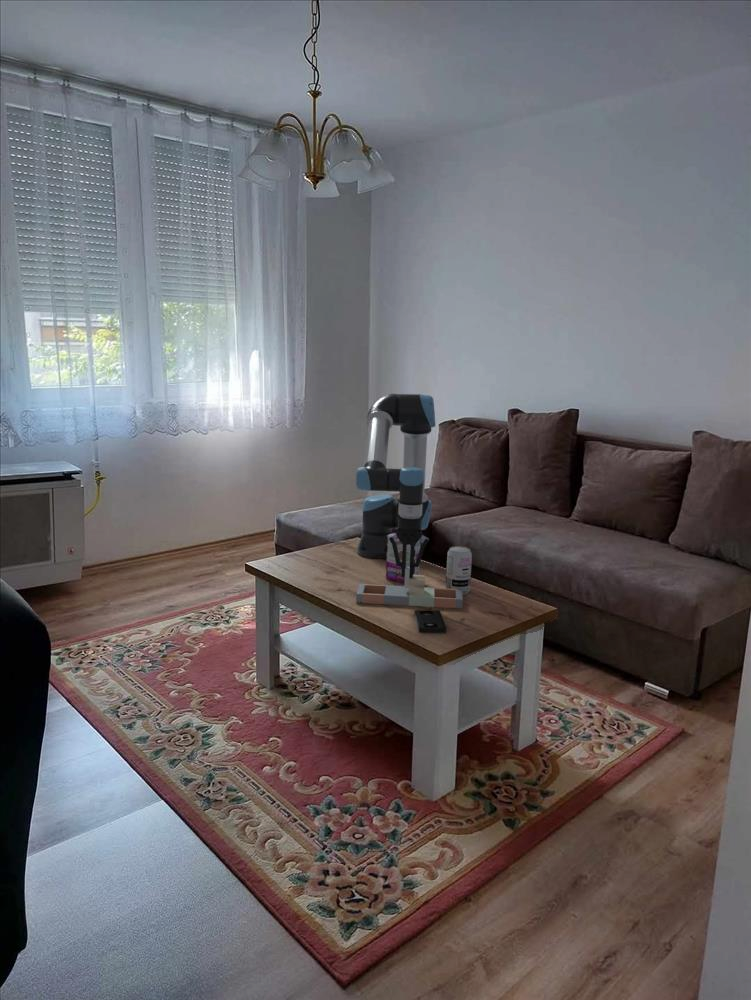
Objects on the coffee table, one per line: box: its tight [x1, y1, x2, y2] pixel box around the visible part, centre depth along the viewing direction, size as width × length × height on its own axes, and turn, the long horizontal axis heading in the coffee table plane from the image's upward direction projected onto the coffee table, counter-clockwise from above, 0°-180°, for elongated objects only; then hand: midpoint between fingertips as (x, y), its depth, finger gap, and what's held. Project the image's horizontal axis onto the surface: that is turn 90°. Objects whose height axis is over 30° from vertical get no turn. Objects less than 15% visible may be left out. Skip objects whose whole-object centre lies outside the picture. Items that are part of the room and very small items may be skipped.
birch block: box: [408, 574, 426, 595], centre depth 233 cm, size 5×5×5 cm
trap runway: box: [355, 583, 464, 610], centre depth 235 cm, size 10×34×3 cm, turn 85°
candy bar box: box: [385, 532, 422, 584], centre depth 253 cm, size 11×5×16 cm, turn 62°
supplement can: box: [445, 545, 473, 596], centre depth 243 cm, size 8×8×15 cm
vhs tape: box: [414, 609, 447, 634], centre depth 216 cm, size 14×8×2 cm, turn 3°
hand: (406, 586), depth 234 cm, fingers closed
